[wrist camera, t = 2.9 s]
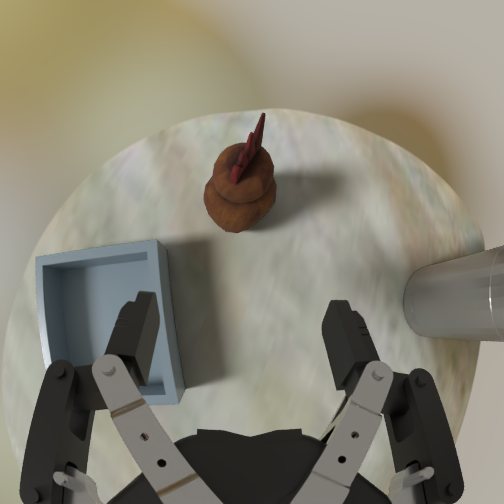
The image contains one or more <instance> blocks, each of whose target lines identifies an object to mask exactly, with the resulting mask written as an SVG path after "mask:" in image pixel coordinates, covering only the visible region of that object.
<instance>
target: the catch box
mask: <svg viewBox="0 0 504 504" xmlns="http://www.w3.org/2000/svg"><path fill="white" fill-rule="evenodd" d="M139 291H149V292H155V293H156V296H157V302H158V308H159V314H160V327H159V331H158V336H157V340H156V344H155V349H154V354H153V358H152V363H151V368H150V373H149V378H148V383H147V386H139V392H140V394H141V396H142V397H143V399H144V400H145V401H146V403H147V404H148V405H174V404H179V403H180V400H181V398H182V396H183V394H184V392H185V390H186V388H185V383H184V378H183V372H182V366H181V360H180V354H179V348H178V341H177V334H176V327H175V320H174V312H173V304H172V295H171V286H170V276H169V265H168V254H167V249H166V248H165V247H164V246H163V245H162V244H161V243H160V242H159V241H158V240H157V239H156V240H148V241H141V242H133V243H126V244H118V245H111V246H104V247H97V248H90V249H83V250H76V251H70V252H63V253H57V254H50V255H44V256H38V257H36V294H37V309H38V320H39V329H40V337H41V344H42V351H43V357H44V362H45V368H46V371H47V368H48V367H49V365H50V364H51V363H52V362H54V361H56V360H60V359H63V360H67V361H69V362H70V363H71V364H72V365H73V367H75V366H84V365H91V364H94V362H95V361H96V360H97V359H98V358H99V357H101V356H103V355H104V353H105V351H106V348H107V345H108V342H109V339H110V336H111V334H112V331H113V328H114V327H115V323H116V320H117V317H118V315H119V312H120V309H121V308H122V307H123V306H124V305H125V304H126V303H127V302H128V301H133V302H135V300H136V297H137V294H138V292H139Z"/></svg>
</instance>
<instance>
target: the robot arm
mask: <svg viewBox="0 0 504 504" xmlns="http://www.w3.org/2000/svg"><path fill="white" fill-rule="evenodd" d="M404 312H405V317H406V319H407V322H408V324H409V326H410V327H411V329H412V330H413V331H414V332H415V333H417V334H418V335H420V336H424V337H434V338H445V339H459V340H477V341H504V245H503V246H500V247H497V248H493V249H490V250H486V251H483V252H479V253H476V254H472V255H469V256H465V257H461V258H458V259H454V260H450V261H446V262H442V263H438V264H434V265H430V266H426V267H422V268H421V269H419V270H417V271H416V272H415V273H414V274H413V275H412V276H411V278H410V279H409V281H408V284H407V286H406V289H405V293H404ZM159 327H160V314H159V308H158V302H157V296H156V293H155V292H149V291H139V292H138V294H137V297H136V300H135V302H133V301H128V302H127V303H126V304H125V305H124V306H123V307H122V308H121V309H120V312H119V315H118V317H117V320H116V323H115V327H114V328H113V331H112V334H111V336H110V339H109V342H108V345H107V348H106V351H105V353H104V355H103V356H101V357H99V358H98V359H97V360H96V361H95V362H94V364H91V365H84V366H75V367H73V365H72V364H71V363H70V362H69V361H67V360H63V359H60V360H56V361H54V362H52V363H51V364H50V365H49V367H48V368H47V371H46V374H45V377H44V380H43V383H42V386H41V389H40V393H39V396H38V399H37V403H36V407H35V410H34V414H33V418H32V422H31V426H30V430H29V435H28V439H27V444H26V449H25V455H24V460H23V467H22V473H21V481H20V497H21V500H22V502H23V503H24V504H103V503H102V502H101V501H100V499H99V497H98V494H97V487H96V484H95V482H94V481H93V479H92V478H91V477H89V476H88V475H86V471H87V462H88V453H89V446H90V439H91V432H92V426H93V420H94V415H95V410H103V409H109V411H110V413H111V418H112V420H113V422H114V424H115V426H116V428H117V430H118V432H119V434H120V436H121V437H122V439H123V441H124V443H125V444H126V446H127V448H128V450H129V451H130V453H131V455H132V456H133V458H134V460H135V461H136V463H137V464H138V466H139V467H140V469H141V471H142V473H141V474H140V475H138V476H137V477H136V478H135V479H134V480H133V481H132V482H131V483H130V484H128V485H127V486H126V487H125V488H124V489H123V490H121V491H120V492H119V493H118V494H117V495H116V496H114V497H113V498H112V499H111V500H110V501H109V502H108V503H107V504H453V503H455V502H457V501H458V500H459V499H460V498H461V496H462V494H463V491H464V482H463V477H462V472H461V468H460V464H459V460H458V456H457V452H456V448H455V444H454V441H453V437H452V434H451V430H450V427H449V424H448V421H447V418H446V414H445V411H444V408H443V405H442V402H441V400H440V397H439V394H438V391H437V388H436V386H435V383H434V380H433V378H432V376H431V374H430V373H429V372H428V371H426V370H424V369H421V368H417V369H414V370H412V371H411V373H410V374H403V373H397V372H393V371H392V370H391V368H390V367H389V366H388V365H387V364H386V363H384V362H381V361H380V359H379V356H378V354H377V351H376V348H375V346H374V343H373V341H372V338H371V336H370V333H369V331H368V329H367V326H366V323H365V321H364V319H363V317H362V316H361V315H360V314H359V313H358V312H357V311H352V310H351V307H350V305H349V302H348V301H347V300H331V301H330V303H329V306H328V308H327V311H326V314H325V316H324V319H323V322H322V336H323V339H324V343H325V347H326V351H327V354H328V358H329V362H330V366H331V370H332V374H333V378H334V382H335V386H336V390H345V393H346V395H345V397H344V398H343V400H342V402H341V404H340V406H339V407H338V409H337V411H336V413H335V415H334V416H333V418H332V420H331V422H330V424H329V425H328V427H327V428H326V430H325V431H324V432H323V434H322V435H321V437H320V438H319V440H318V439H316V438H314V437H311V436H307V435H303V434H302V430H301V429H289V430H275V431H272V432H268V433H264V434H260V435H256V436H252V437H249V436H244V435H240V434H235V433H231V432H227V431H224V430H205V429H197V435H191V436H188V437H185V438H182V439H180V440H178V441H176V442H175V443H173V442H172V441H171V439H170V438H169V436H168V435H167V433H166V432H165V431H164V429H163V428H162V426H161V425H160V423H159V422H158V420H157V419H156V417H155V415H154V414H153V412H152V411H151V409H150V408H149V406H148V404H147V403H146V401H145V400H144V399H143V397H142V396H141V394H140V392H139V386H147V383H148V378H149V373H150V368H151V363H152V358H153V354H154V349H155V344H156V340H157V336H158V331H159ZM380 413H382V414H384V418H385V422H386V427H387V431H388V436H389V441H390V446H391V450H392V456H393V461H394V466H395V472H396V474H395V475H394V476H393V477H392V479H391V482H390V486H389V491H390V492H389V494H388V496H387V495H386V494H384V493H383V492H382V491H380V490H379V489H378V488H377V487H375V486H374V485H373V484H372V483H370V482H369V481H368V480H367V479H365V478H364V477H363V476H362V475H361V474H359V473H358V470H359V468H360V466H361V464H362V462H363V460H364V458H365V456H366V454H367V452H368V450H369V448H370V446H371V443H372V441H373V439H374V437H375V434H376V432H377V430H378V428H379V425H380V423H381V420H382V415H380Z"/></svg>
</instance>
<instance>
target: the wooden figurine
mask: <svg viewBox="0 0 504 504" xmlns="http://www.w3.org/2000/svg"><path fill="white" fill-rule="evenodd" d="M264 122H265V113H262V115H261V117H260V119H259V122H258V124H257V126H256V129H255V131H254V133H253V132H251V133H250V134H249V137H248V140H247V143H238V144H234V145H232V146H230V147H227V148H226V149H225V150H224V151H223V152H222V153H221V154H220V155H219V157H218V159H217V161H216V162H215V164H214V169H213V176H212V177H211V179H210V180H209V181H208V183H207V184H206V186H205V192H204V203H205V206H206V209H207V211H208V214H209V215H210V217H211V218H212V219H213V220H214V222H215V223H216V224H217V225H218V226H219V227H221V228H222V229H223V230H225V231H226V232H233V233H239V232H241V231H244V230H246V229H248V228H250V227H251V226H253V225H254V224H255V223H257V222H258V221H259V220H260V219H261V218H262V217H263V216H264V215H265V214H266V213H267V212H268V211H269V210H270V209H271V207H272V206H273V205H274V203H275V196H276V183H275V181H274V178H273V173H274V165H273V162H272V160H271V157H270V154H269V153H268V152H267V151H266V150H265V149H264V148H263V147H261V144H262V137H263V130H264Z"/></svg>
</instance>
